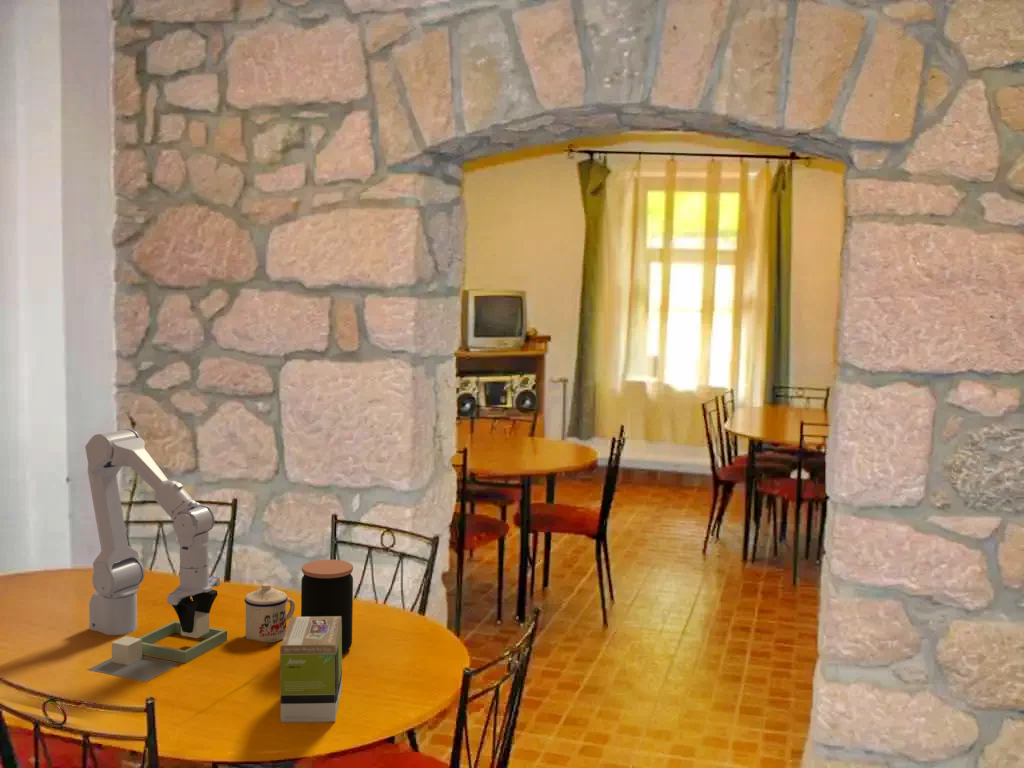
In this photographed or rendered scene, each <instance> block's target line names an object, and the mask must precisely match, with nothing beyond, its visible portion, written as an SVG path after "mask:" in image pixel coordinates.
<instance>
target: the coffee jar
mask: <svg viewBox="0 0 1024 768" xmlns="http://www.w3.org/2000/svg"><path fill="white" fill-rule="evenodd" d="M353 570H354V566H353V563H350V562H349V561H345V560H340V559H318V560H317V559H316V560H312V561H310V562H306V563H304V564H303V565H302V566H301V572H302V574H303V576H302V577H301V582H300V583H301V585H300V586H301V587H300V588H301V594H300V596H301V598H300V600H301V601H300V617H321V616H341V618H342V655H345V654H346V653H347V652H348V651H349V649H350V648H351V647H352V643H353V617H354V616H353V614H354V613H353V611H354V610H353V607H354V600H353V599H354V576H353V574H352V572H353Z"/></svg>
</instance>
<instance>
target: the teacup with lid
mask: <svg viewBox="0 0 1024 768" xmlns="http://www.w3.org/2000/svg"><path fill="white" fill-rule="evenodd" d="M244 602H245V639H246V640H250V641H256V642H261V643H267V644H270V643H272V644H273V643H276V642H279V641H281V640H283V638H284V635H285V633H286V630H287V621H290V619H291V617H292V616H293V615H294V613H295V610H296V602H295V600H294V599H292V598H289V597H288V595H287V594H286V593H285V591H282V590H279V589H276V588H274V587H272V585H271V584H270V583H262V584H261V587H260V588H258V589H256V590H254V591H251V592H249V593H247V594H246V595H245V598H244ZM287 603H289V606H290V607H289V609H288V613H287Z"/></svg>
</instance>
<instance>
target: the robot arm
mask: <svg viewBox="0 0 1024 768" xmlns="http://www.w3.org/2000/svg"><path fill="white" fill-rule="evenodd" d="M84 448H85V454H86V460H87V463H88V464H87V475H88V481H89V486H90V492H91V497H92V503H93V504H92V505H93V510H94V511H93V512H94V515H95V521H96V526H97V533H98V539H99V544H100V545H99V546H100V552H99V554H98V555H97V556H96V558H95V559H94V561H93V562H92V568H93V573H92V585H93V589H94V590H95V592H94V593H93V594H92V595H91V597H90V600H89V605H88V611H89V615H88V618H89V619H88V620H89V626H88V627H89V630H90V631H95V632H98V633H101V634H105V635H108V636H122V635H127V634H130V633H133V632H134V631H137V629H138V607H137V606H138V598H137V595H138V594H137V592H138V591H139V590H140V585H141V584H142V583H143V581H144V579H145V574H146V573H145V567H144V565H143V563H142V562H141V559H140V556H139V552H138V551H137V550H136V549H134V548H133V547H131V546H129V543H128V537H127V530H126V525H125V519H124V515H123V508H122V501H121V496H120V489H119V484H118V480H117V479H118V478H117V474H118V473H119V472H120V471H121V469H122V467H128V468H130V469H132V470H133V471H134V472H135V473H136V474H137V475H138V476H139V477H140V478H141V480H143V481H144V482H145V483H146V484H147V485H148V486H149V487H150V488H151V489H152V490H154V495H153V496H154V500H155V502H156V503H157V504H158V505H159V506H160V507H161V509H163V511H164V512H165V513H166V514H167V515H168V516H169V517H170V518H171V520H172V521H173V522H172V528H173V530H174V532H175V534H176V537H177V543H178V545H179V585H178V586H177V587H176V588H175V589H174V590H173V591H172V592H171V593H168V594H167V596H166V598H167V601H166V603H167V605H171V606H172V608H173V609H174V611H175V613H176V615H177V617H178V620H179V621H178V622H180V624H181V628H182V631H183V632H187V633H191V632H192V631H193V627H194V616H195V611H198V612H203V613H209V614H210V613H211V609H212V606H213V605H214V602H215V600H216V598H217V597H218V590H216V589H213V587H216V588H217V587H219V586H220V585H221V583H220V582H221V576H218V575H210V576H209V571H210V570H209V568H210V567H209V564H210V563H209V558H210V556H209V546H210V544H209V543H210V542H209V541H210V540H209V538H210V537H209V535H210V534H209V532H210V531H211V530H212V529H213V528H214V526H215V523H216V522H215V520H216V518H215V516H214V515H215V514H214V513H213V511H212V509H211V508H210V506H208V505H206V504H201V503H199V502H197V501H196V500H194V498H193V497H192V496H191V495H190V494H189V493H188V492H187V491H186V489H184V485H183V484H182V483H181V482H178V480H170V479H168V477H167V476H166V474H165V473H164V472H163V471H162V470H161V468H160V467H159V466H158V464H157V463H156V462H155V460H154V459H153V458H152V456H151V455H150V453H149V452H148V451H147V450H146V449H145V448H146V444H145V440H144V439H143V438H142V437H140V434H139V433H138V432H137V431H136V430H134V429H133V428H125V429H123V430H117V431H111V432H105V433H97V434H94V435H93V436H91V438H90V439H89V440H88V441H87V443H86V444H85V447H84Z"/></svg>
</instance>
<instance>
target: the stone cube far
mask: <svg viewBox="0 0 1024 768" xmlns="http://www.w3.org/2000/svg"><path fill="white" fill-rule="evenodd" d="M209 627H210V613H203V612H198V611H195V616H194V627H193V631H192V632H191V633H187V632H183V631H182V628H181V634H180V635H181V636H183V637H189V638H194V639H198V638H201V637H200V636H202V635H204V634H206V633H208V632H209Z"/></svg>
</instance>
